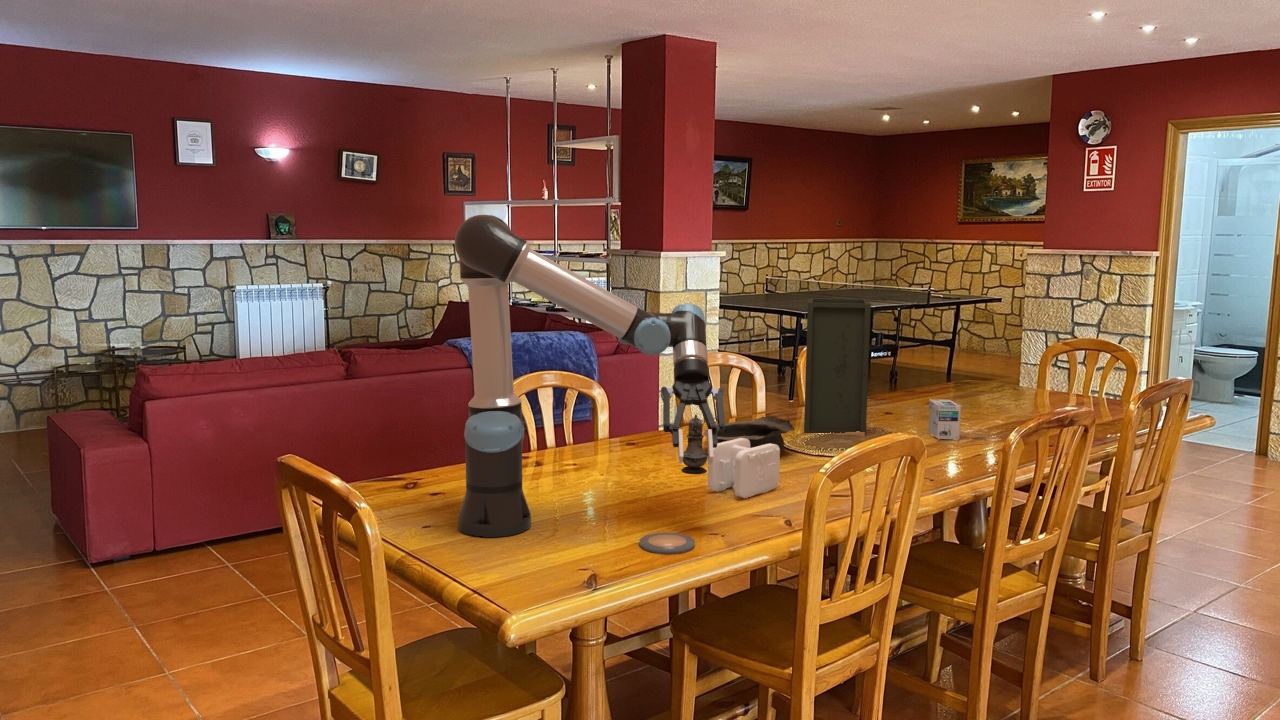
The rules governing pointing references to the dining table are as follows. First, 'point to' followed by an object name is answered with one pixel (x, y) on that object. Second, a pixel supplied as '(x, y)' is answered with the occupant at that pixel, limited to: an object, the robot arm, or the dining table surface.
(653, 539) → the coaster
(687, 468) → the salt shaker
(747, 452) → the cable organizer
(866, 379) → the dark green rectangular pillar
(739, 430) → the black brimmed hat
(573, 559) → the dining table surface
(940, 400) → the light bulb box
